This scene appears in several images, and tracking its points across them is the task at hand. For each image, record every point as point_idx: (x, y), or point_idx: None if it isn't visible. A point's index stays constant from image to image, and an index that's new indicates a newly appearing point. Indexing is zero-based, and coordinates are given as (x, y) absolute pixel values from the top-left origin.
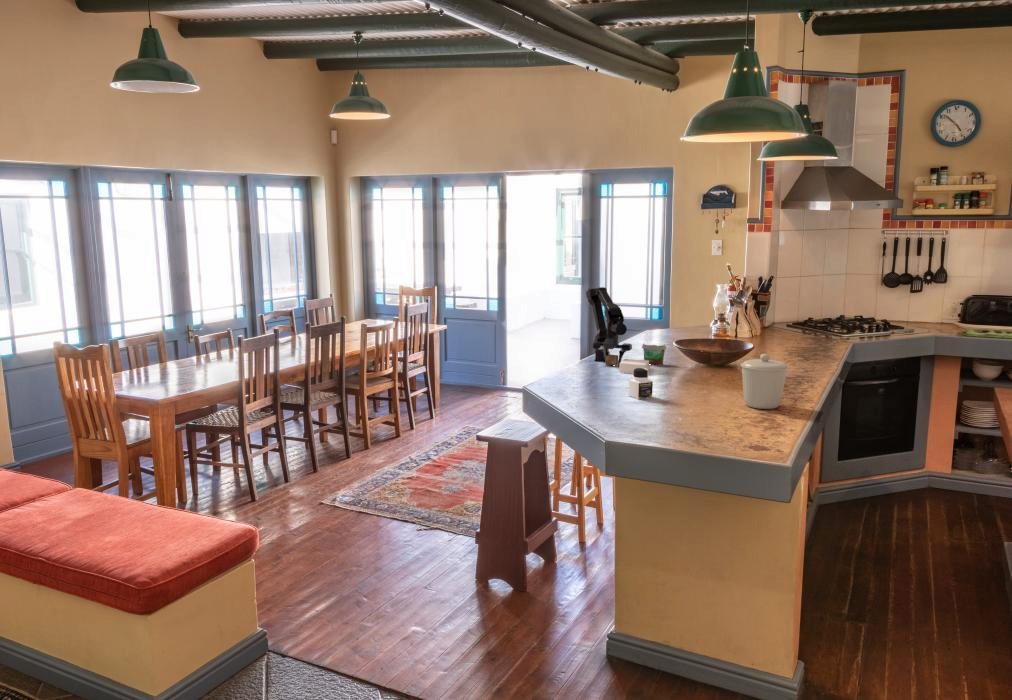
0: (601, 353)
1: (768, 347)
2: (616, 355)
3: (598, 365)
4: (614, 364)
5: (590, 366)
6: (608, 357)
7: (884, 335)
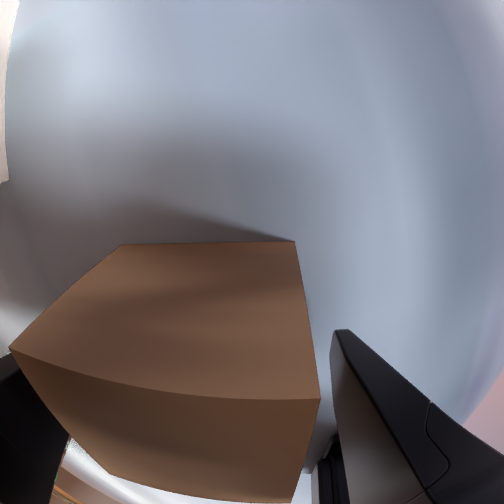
0: (478, 451)
1: (63, 491)
2: (100, 456)
3: (416, 212)
4: (120, 256)
5: (488, 92)
6: (208, 356)
7: (54, 493)
